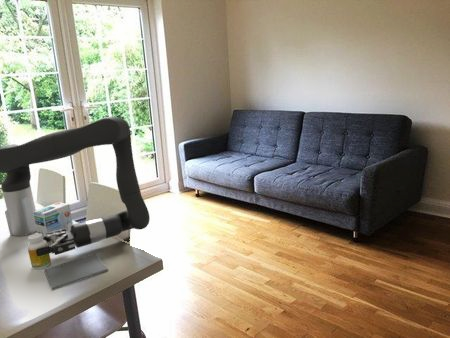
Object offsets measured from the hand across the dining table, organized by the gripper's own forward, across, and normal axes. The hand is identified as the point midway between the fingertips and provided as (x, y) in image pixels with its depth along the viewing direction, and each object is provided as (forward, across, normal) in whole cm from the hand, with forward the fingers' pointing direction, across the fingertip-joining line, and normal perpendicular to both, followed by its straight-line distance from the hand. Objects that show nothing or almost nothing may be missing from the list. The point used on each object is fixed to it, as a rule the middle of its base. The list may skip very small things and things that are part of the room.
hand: (34, 248), depth 112 cm
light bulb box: (-10, -22, +6) cm, 25 cm away
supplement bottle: (-1, 0, +6) cm, 6 cm away
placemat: (-8, +11, +6) cm, 15 cm away
